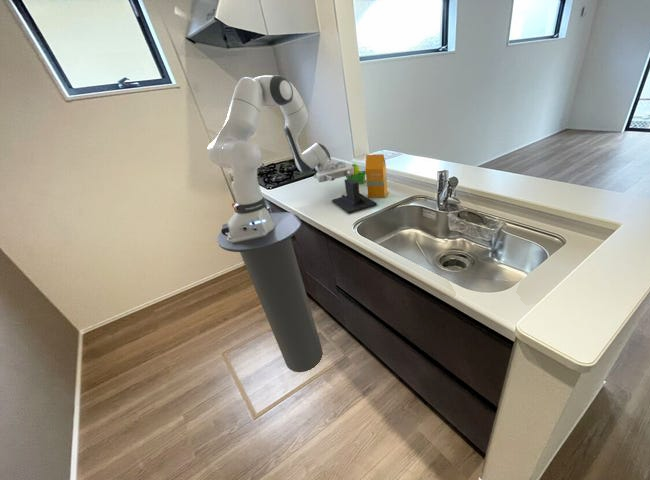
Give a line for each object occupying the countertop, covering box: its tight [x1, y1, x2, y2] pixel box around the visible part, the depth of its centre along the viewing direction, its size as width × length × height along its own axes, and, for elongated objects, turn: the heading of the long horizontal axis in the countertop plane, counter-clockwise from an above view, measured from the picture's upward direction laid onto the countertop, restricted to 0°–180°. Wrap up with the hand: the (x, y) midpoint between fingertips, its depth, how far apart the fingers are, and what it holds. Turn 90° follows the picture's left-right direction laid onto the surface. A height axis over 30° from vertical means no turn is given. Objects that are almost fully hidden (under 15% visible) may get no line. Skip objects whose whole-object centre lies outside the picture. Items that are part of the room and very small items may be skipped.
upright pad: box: [344, 178, 361, 204], centre depth 145 cm, size 3×9×10 cm, turn 29°
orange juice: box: [364, 153, 388, 199], centre depth 149 cm, size 8×9×20 cm
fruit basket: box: [345, 163, 366, 184], centre depth 172 cm, size 11×9×11 cm
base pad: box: [332, 192, 378, 215], centre depth 147 cm, size 15×20×3 cm
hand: (341, 176), depth 151 cm, fingers open, 8 cm apart
